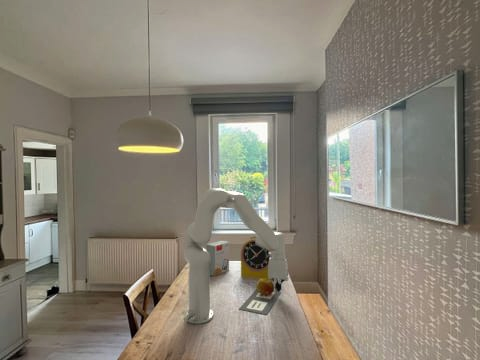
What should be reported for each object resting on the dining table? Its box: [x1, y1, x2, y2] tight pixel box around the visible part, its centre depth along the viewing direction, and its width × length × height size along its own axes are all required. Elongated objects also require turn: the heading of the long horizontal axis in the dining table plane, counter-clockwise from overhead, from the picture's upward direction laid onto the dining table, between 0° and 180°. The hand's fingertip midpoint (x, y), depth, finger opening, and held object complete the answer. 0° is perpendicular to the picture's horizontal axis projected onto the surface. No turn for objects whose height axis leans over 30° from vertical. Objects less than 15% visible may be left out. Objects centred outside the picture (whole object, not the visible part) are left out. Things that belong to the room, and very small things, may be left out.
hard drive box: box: [206, 240, 230, 277], centre depth 177 cm, size 16×8×20 cm, turn 143°
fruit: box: [256, 278, 275, 295], centre depth 140 cm, size 10×9×8 cm
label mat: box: [238, 288, 282, 316], centre depth 134 cm, size 26×14×1 cm, turn 157°
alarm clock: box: [240, 234, 273, 282], centre depth 168 cm, size 21×9×26 cm, turn 67°
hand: (278, 290), depth 137 cm, fingers closed
